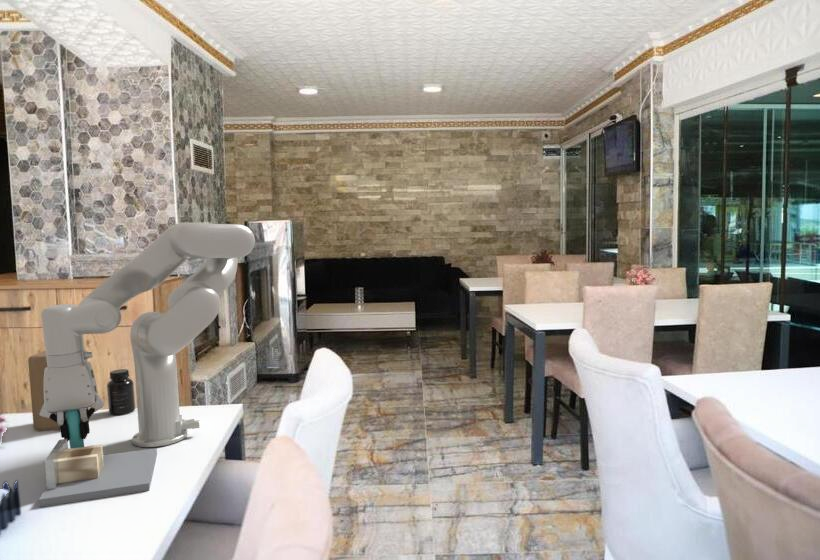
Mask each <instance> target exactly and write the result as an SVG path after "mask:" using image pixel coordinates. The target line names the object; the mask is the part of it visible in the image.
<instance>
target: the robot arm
mask: <svg viewBox="0 0 820 560" xmlns="http://www.w3.org/2000/svg"><path fill="white" fill-rule="evenodd" d="M255 237H256V236H255V235H254V232H253V231H252V230H251V229H250V228H249V227H248V226H246V225H244V224H240V223H205V222H179V223H178V222H177V223H176V224H173V225H171V226H169V227H168V228H167V229H166V230H165V231H164V232H163V233H161V234H160V235H159V236H158V237H157V238H156V239H155V240H154V241H152V242H151V243H150V244H149V245H148V246H147V247H146V248H145V249H144V250H142V251H141V252H140V253H139V254H138V255H136V256H135V257H134V258H132V260H131V261H130V262H128V263H127V264H124V266H122V267H121V268H120V269H119V270H117V271H116V272H114V273H113V274H112V275H110V276H109V277H107V278H106V279H104V281H102V282H101V283H100V284H99V285H97V286H96V287H95V288H94V289H93V290H92V291H91V292H90V293H89V294H87V296H85V297H84V298H83V299H82V300H81V301H80V302H79V303H78V305H76V304H73V303H72V304H71V303H65V304H64V303H63V304H53V305H50V306H47V307H44V308H43V309H42V310H41V314H40V315H41V325H42V334H43V341H44V348H45V349H44V351H45V350H46V359H47V366H48V367H46V368H45V370H44V404H43V406H42V409H41V411H40V416H43V417H47V418H50V419H52V420H53V421H55V422H56V423H57V424H58V425H60V430H59V431H60V437H61V438H62V439H67V441H68V442H69V434H68V426H67V419H66V411H69V410H76V409H79V410H80V414H81V422H80V432H81V439H84V440H86V438H87V437H88V434H90V432H91V431H90V423H89V419H90V418H91V417H92V415H94V413H96V412H98V411H99V410H101V409H102V408H104V406H105V402H104V401H103V399H102V398H101V396H100V395H99V392H98V388H97V382H96V381H97V380H96V377H95V372H94V368H93V366H92V363H91V361H87V360H88V359H91V358H93V351H87V350H86V348H85V342H84V335H97V334H98V335H100V334H101V335H102V334H108V333H110V332H112V331H114V330H115V329H116V328H118V326H119V325H120V323H121V321H122V313H121V310H120V309H121V308H122V307H124V305H126V304H127V303H128V302H130V301H131V300H133V299H134V298H135V297H137V296H139V295H140V294H144V293H147V292H149V291H152V290H153V289H155V288H158V287H159V286H161V285H162V284H163V283H164V282H165V281H166V280H167V279H168V278H169V277H170V276H171V275H173V273H174V272H175V271H176V270H177V269H178V268H180V267H181V266H182V265H183V264H184V263H185V262H186V261H187V260H188V259H190V258H196V259H199V258H200V259H205V261H204V262H203V264H202V265H201V266H200V267H199V268H198V269H197V270H196V271H195V272H194V273H192V274H191V275H190V276H189V277H188V278H186V279H185V280H184V281H183V282H182V283H181V284H180V285H178V286H177V287H176V288H174V289H173V290H172V292H171V293H169V296H168V298H167V308H168V309H167V310H165V311H164V312H162V313H161V312H159V311H147V312H144V313H142V314H140V315H139V316H137V317H136V318H135V320H134V321H132V325H131V327H130V332H129V339H130V344H131V351H132V355H133V363H134V373H135V374H134V376H135V378H134V379H135V391H136V405H137V406H136V407H137V408H136V409H137V420H138V421H137V423H138V432H137V433H135V434H134V435H133V436H132V438H131V440H132V444H133V445H134V446H137V447H141V448H155V447H156V448H157V447H164V446H168V445H172V444H175V443H178V442H180V441H182V440H184V439H185V438H186V437H187V436H188V429H189V430H190V429H192V430H194V429H200V420H195V418H191V419H185V418H184V419H183V417H182V414H181V413H180V397H179V379H178V363H177V357H176V356H177V355H176V354H178V353H179V352H180V351H182V350H183V349H184V348H186V347H187V346H189V344H190V343H191V342H192V341H193V340H194V339H195V338H196V337H198V336H199V335H200V334H201V333H202V332H203V331H205V329H206V328H208V327H209V326H210V325H211V324H212V322H214V320H215V319H216V317H217V315H218V314H219V312H220V308H221V299H220V296H221V294H222V293H224V291H226V290H227V289H228V288H229V286H230V285H231V284H232V282H233V281H234V280H235V277H236V274H237V272H238V264H239V263H238V260H239V259H238V258H243V257H246V256H248V255H249V254H251V253H252V252H253V249H254V248H255V245H256V238H255ZM56 412H57V413H56Z"/></svg>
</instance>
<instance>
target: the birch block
mask: <svg viewBox="0 0 820 560" xmlns="http://www.w3.org/2000/svg"><path fill="white" fill-rule="evenodd" d="M103 455H104V450H103V444H96V445H88V446H84V447H79V448H71V449H70V448H68V449H65V450H64V452H63V453H62V455H61V457H60V458H59V460H58V461H57V464H58V477H59V483H65V482H72V481H79V480H86V479H93V478H98V477H99V475H100V472H101V470H102V468H103V465H104V461H103Z"/></svg>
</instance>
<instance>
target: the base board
mask: <svg viewBox="0 0 820 560" xmlns="http://www.w3.org/2000/svg"><path fill="white" fill-rule="evenodd" d="M157 449H158V448H157V447H156V448H155V447H153V448H149V449H148V448H147V449H141V450H133V451H132V450H131V451H125V452H118V453H108V454H103V461H104V465H103V468H102V470H101V472H100V475H99V477H98V478H93V479H86V480H79V481H72V482H65V483H59V485H58V486H57V488H56V489H52V490H47V486H46V487H45V489H44V490H43V492H42V493H41V496H40V497H39V498H38V507H39V508H43V507H44V508H45V507H50V506H56V505H61V504H69V503H76V502H82V501H87V500H96V499H103V498H109V497H115V496H121V495H129V494H135V493H141V492H142V493H143V492H147V491H148V492H149V491H150V488H151V485H152V479H153V476H154V470H155V466H156V461H157V456H158V450H157Z"/></svg>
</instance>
